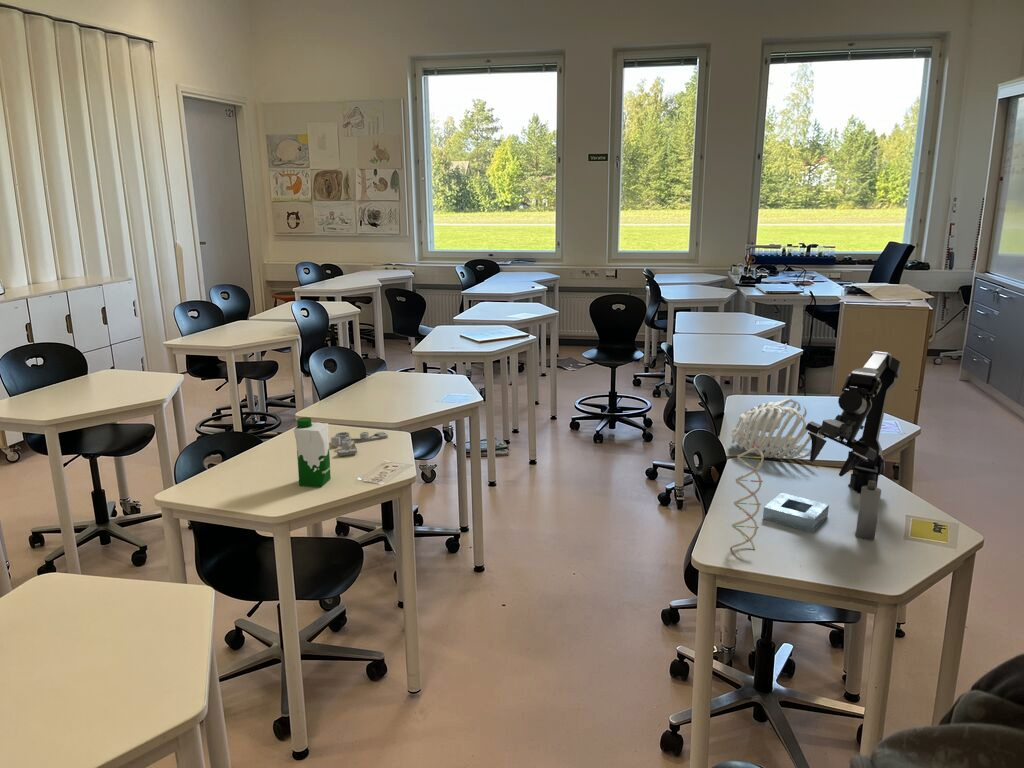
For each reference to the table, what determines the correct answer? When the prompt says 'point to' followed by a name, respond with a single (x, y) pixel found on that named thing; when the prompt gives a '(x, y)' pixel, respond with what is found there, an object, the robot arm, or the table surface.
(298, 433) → the milk carton
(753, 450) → the dna model
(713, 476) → the bolt
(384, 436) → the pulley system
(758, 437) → the rib cage
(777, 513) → the grey square frame
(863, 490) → the plug
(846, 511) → the table surface
